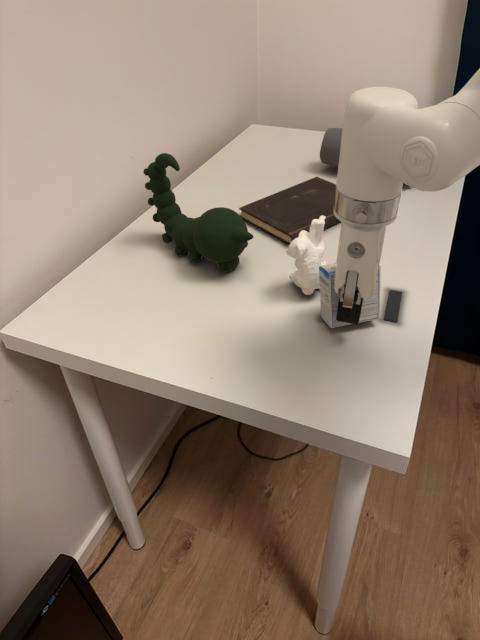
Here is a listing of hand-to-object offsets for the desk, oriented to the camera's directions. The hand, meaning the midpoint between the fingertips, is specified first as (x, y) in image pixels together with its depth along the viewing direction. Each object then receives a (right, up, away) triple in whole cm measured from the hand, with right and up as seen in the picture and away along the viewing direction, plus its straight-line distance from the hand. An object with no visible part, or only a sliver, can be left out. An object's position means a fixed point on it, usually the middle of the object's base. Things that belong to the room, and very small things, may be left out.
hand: (347, 319), depth 70 cm
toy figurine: (-22, +12, +21) cm, 33 cm away
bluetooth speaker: (+15, +34, +46) cm, 60 cm away
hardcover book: (-2, +22, +33) cm, 40 cm away
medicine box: (+1, 0, +4) cm, 4 cm away
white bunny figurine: (-4, +5, +12) cm, 14 cm away
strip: (+9, +2, +7) cm, 12 cm away
